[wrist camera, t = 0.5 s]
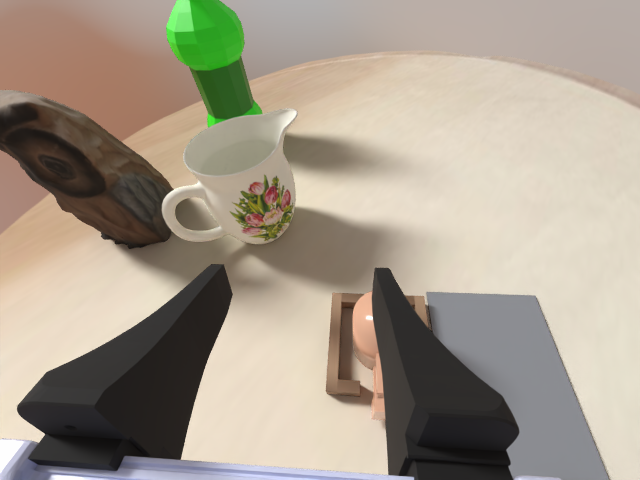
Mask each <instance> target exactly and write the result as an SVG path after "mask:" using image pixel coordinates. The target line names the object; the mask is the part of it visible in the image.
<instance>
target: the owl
mask: <svg viewBox="0 0 640 480" xmlns="http://www.w3.org/2000/svg"><path fill="white" fill-rule="evenodd" d="M0 150H2V151H4V152H6V153H8V154H9V155H10V156H12V157H13V158H15V159H16V160H17V161H18V162H19V163H20V166H21V167H22V169H24V170H25V172H26V173H27V174H28V176H29V177H30V178H31V179H32V180H33V181H35V182H36V183H38V184H39V185H41V186H42V187H44V188H45V189H47V190H48V191H49V192H51V193H52V194H53V195H54V196H55V198H56V200H57V203H58V204H59V206H60V207H61V209H62V210H64V211H66V212H69V213H72V214H73V215H74V216H75V217H77V218H78V219H79V220H81V221H82V222H84V223H86V224H88V225H90V226H92V227H94V228H95V229H97V230H98V231H100V232H101V234H102V235H101V237H102V238H103V239H104V240H106V239H107V240H108V239H115V240H116V241H115V244H126V245H128V248H129V249H132V248H136V247H139V248H141V247H144V246H147V245H149V244H153V243H157V242H165V241H167V240H168V239H169V237H170V235H171V232H172V231H171V229H170V228H169V227H168V225H167V224H166V222H165V220H164V217H163V214H162V203H163V200H164V198H165V197H166V195H167V194H169V193H170V192H171V191H173V190H174V189H173V188H172V187H171V186H170V184H169V182H168V181H167V180H166V179H165V178H164V177H163V175H162V174H161V173H160V172H159V171H157V170H156V169H155V168H153V166H152V165H151V164H149V162H148V161H146V160H145V159H144V158H143V157H141V156H140V155H138V154H137V153H136V152H134V151H133V150H132V149H130V148H129V147H127V146H126V145H125V144H123V143H122V142H121V141H119V140H118V139H116V138H115V137H114V136H113V135H111V134H110V133H108V132H107V131H106V130H105V129H103V128H102V127H101V126H100V125H98V124H97V123H96V122H94V121H93V120H92V119H90V118H89V117H87V116H86V115H85V114H83V113H80V112H79V111H77V110H74V109H72V108H70V107H68V106H66V105H64V104H61V103H58V102H56V101H53V100H50V99H47V98H45V97H43V96H39V95H35V94H32V93H25V92H21V91H15V90H0Z"/></svg>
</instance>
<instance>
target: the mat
mask: <svg viewBox="0 0 640 480" xmlns="http://www.w3.org/2000/svg"><path fill="white" fill-rule="evenodd" d="M427 300H428V306H429V313H430V319H431V326H432V333H433V334H434V335H435V336H436V337H437V338H438V339H439V340H440V341H441V343H442V344H443V345H444V346H445V347H446V348H447V349H448V350H449V351H450V352H451V353H452V354H453V355H454V356H456V357H457V358H458V359H459V360H460V361H461V362H462V363H463V364H464V365H465V366H466V367H467V368H468V369H470V370H471V371H472V372H473V373H474V374H475V375H476V376H478V377H479V378H480V379H481V380H483V381H484V382H485V383H487V384H488V385H489V386H490V387H492V388H493V389H494V390H496V391H497V392H498V393H499V394H501V395H502V396H503V398H504V399H505V401H506V403H507V405H508V406H509V408H510V410H511V412H512V414H513V416H514V418H515V420H516V422H517V425H518V427H519V432H520V433H519V435H518V437H517V438H516V440H515V441H514V442H513V443H512V444H511V445H510V446H509V447H508V449H507V450H506V451H507V453H508V456H509V458H510V461H511V465H510V466H508V467H509V470H510V472H511V475H512V478H513V477H516V476H540V477H554V478H559V479H561V480H609V478H608V476H607V473H606V471H605V468H604V466H603V463H602V461H601V458H600V456H599V453H598V451H597V448H596V446H595V443H594V441H593V438H592V436H591V433H590V431H589V428H588V426H587V423H586V421H585V418H584V416H583V413H582V411H581V408H580V406H579V403H578V401H577V398H576V396H575V394H574V391H573V389H572V386H571V384H570V381H569V379H568V376H567V374H566V371H565V369H564V366H563V364H562V361H561V359H560V356H559V354H558V351H557V349H556V346H555V344H554V341H553V339H552V336H551V334H550V331H549V329H548V326H547V324H546V321H545V319H544V316H543V314H542V311H541V309H540V306H539V304H538V301H537V299H536V296H530V295H501V294H472V293H443V292H427Z"/></svg>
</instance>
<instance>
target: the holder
mask: <svg viewBox="0 0 640 480" xmlns="http://www.w3.org/2000/svg"><path fill="white" fill-rule="evenodd" d="M363 295H364V294H349V293H332V308H331V322H330V337H329V351H328V366H327V381H326V392H327V394H335V395H347V396H360V381H354V380H341V379H339V358H340V336H341V314H342V308H354V307H355V305H356V303H357V301H358V300H359V299H360V298H361V297H362V296H363ZM405 297H406V298H407V300H408V301H409V303H410V304H411V306H412V307H413V309H414V310H415V311H416V313H417V314H418V315H419V317H420V318H421V319H422V321H423V322H424V323H425V324H426V326H427V327H428V321H427V314H426V307H425V300H424V296H405Z"/></svg>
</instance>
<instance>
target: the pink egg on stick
mask: <svg viewBox="0 0 640 480" xmlns="http://www.w3.org/2000/svg"><path fill="white" fill-rule="evenodd" d="M353 349H354V352H355V355H356V357H357V358H358V360H359V361H360V362H361V363H362V364H363V365H364V366H365V367H367V368H369V369H371V370H373V394H374V396H373V399H372V403H371V410H372V419H373V420H384V421H385V406H384V393H383V380H382V370H381V363H380V357H379V351H378V346H377V340H376V334H375V328H374V323H373V314H372V291H371V292H368V293H366V294H364V295H363V296H362V297H361V298H360V299H359V300H358V301H357V303H356V305H355V307H354V310H353Z"/></svg>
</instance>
